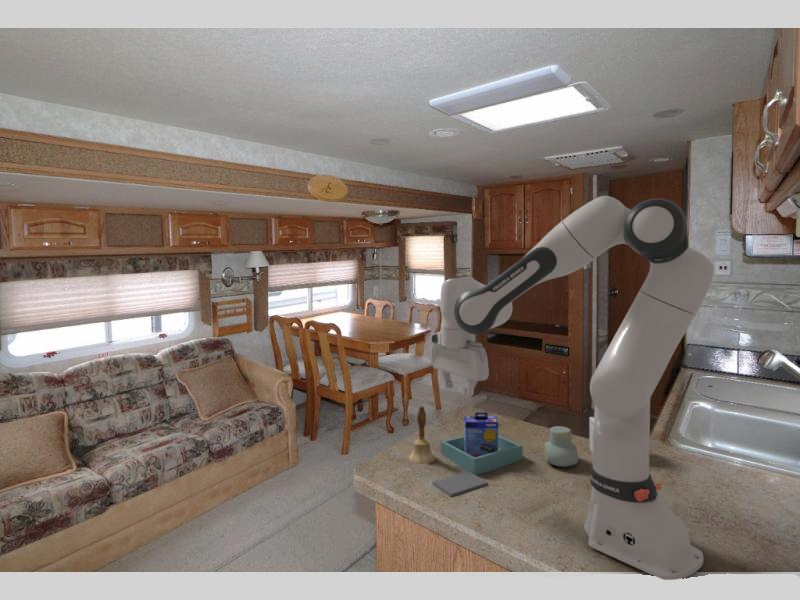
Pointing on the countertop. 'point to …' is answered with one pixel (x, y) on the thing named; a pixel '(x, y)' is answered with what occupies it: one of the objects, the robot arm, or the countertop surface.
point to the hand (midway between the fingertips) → (458, 391)
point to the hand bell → (421, 443)
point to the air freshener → (560, 448)
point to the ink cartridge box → (480, 434)
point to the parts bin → (486, 462)
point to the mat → (459, 483)
